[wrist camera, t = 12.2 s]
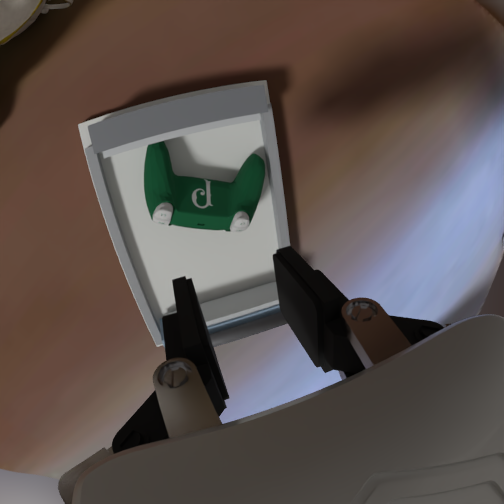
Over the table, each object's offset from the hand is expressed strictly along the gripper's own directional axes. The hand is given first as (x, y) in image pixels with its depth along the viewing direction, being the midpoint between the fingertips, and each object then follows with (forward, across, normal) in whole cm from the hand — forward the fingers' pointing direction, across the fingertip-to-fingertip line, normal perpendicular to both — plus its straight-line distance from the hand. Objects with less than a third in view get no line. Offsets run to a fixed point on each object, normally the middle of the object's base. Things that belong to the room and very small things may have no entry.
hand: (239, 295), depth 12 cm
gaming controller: (+14, -1, -1) cm, 15 cm away
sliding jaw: (+14, 0, +11) cm, 18 cm away
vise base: (+15, 0, +2) cm, 15 cm away
